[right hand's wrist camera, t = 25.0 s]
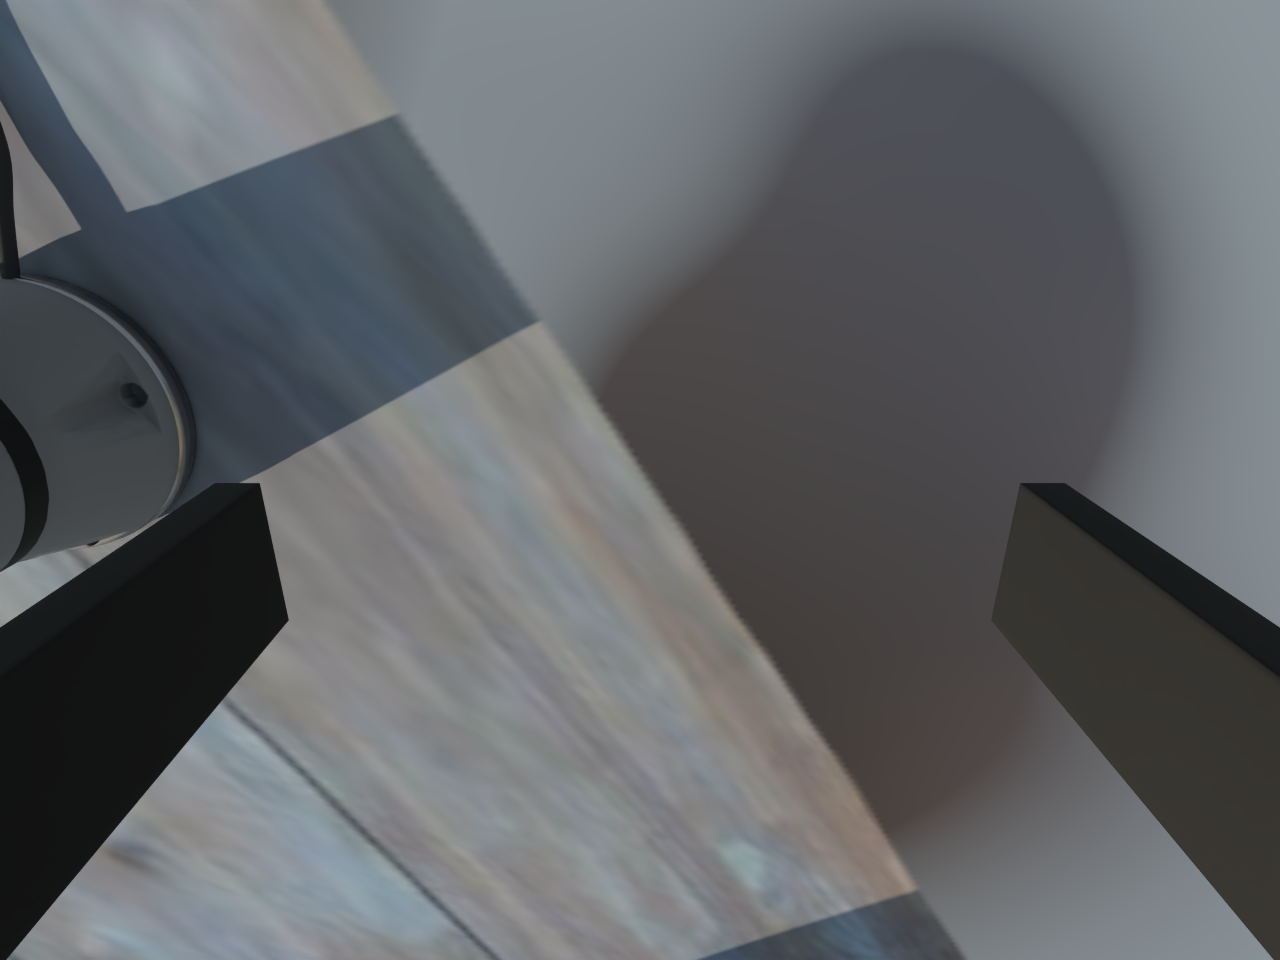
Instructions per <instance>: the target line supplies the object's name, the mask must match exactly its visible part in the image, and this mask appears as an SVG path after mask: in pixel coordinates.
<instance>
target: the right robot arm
mask: <svg viewBox="0 0 1280 960" xmlns="http://www.w3.org/2000/svg"><path fill="white" fill-rule="evenodd" d="M0 273H1V274H0V572H1V571H3V570H4V569H6V568H8V567H10V566H12V565H13V564H15V563H17V562H20V561H25V560H29V559H32V558H36V557H39V556H43V555H48V554H52V553H56V552H60V551H64V550H75V549H83V548H88V547H94V546H99V545H102V544H106V543H109V542H112V541H114V540H117V539H120V538H123V537H125V536H127V535H130V534H132V533H134V532H135V531H137V530H139V529H141V528H142V527H144V526H145V525H147V524H148V523H150V522H151V521H153V520H154V519H156V518H157V517H159V516H160V515H161V514H162V513H164V512H165V511H166V510H167V509H168V508H169V507H170V506H171V505H172V504H173V503H174V502H175V501H176V500H177V498H178V497H179V496H180V494H181V493H182V491H183V489H184V488H185V486H186V484H187V481H188V479H189V477H190V474H191V470H192V467H193V462H194V457H195V445H196V440H195V427H194V420H193V415H192V412H191V408H190V404H189V401H188V399H187V396H186V393H185V391H184V388H183V386H182V384H181V382H180V380H179V378H178V376H177V374H176V373H175V371H174V369H173V367H172V366H171V364H170V363H169V361H168V360H167V358H166V357H165V355H164V354H163V353H162V352H161V350H160V349H159V348H158V347H157V345H156V344H155V343H154V342H153V341H152V340H151V339H150V337H149V336H148V335H147V334H146V333H145V332H144V331H143V330H142V329H141V328H140V327H139V326H137V325H136V324H135V323H134V322H133V321H132V320H131V319H129V318H128V317H127V316H126V315H124V314H123V313H122V312H121V311H119V310H118V309H116V308H115V307H113V306H112V305H110V304H109V303H107V302H106V301H104V300H102V299H100V298H99V297H97V296H95V295H93V294H92V293H89V292H87V291H85V290H83V289H81V288H79V287H76V286H73V285H71V284H68V283H65V282H62V281H59V280H55V279H51V278H48V277H42V276H37V275H29V274H20V268H19V259H18V249H17V240H16V230H15V220H14V208H13V173H12V163H11V157H10V152H9V148H8V144H7V141H6V137H5V134H4V131H3V128H2V125H1V122H0ZM288 620H289V619H288V615H287V610H286V605H285V600H284V596H283V591H282V586H281V582H280V577H279V572H278V567H277V563H276V558H275V553H274V549H273V544H272V539H271V534H270V530H269V525H268V520H267V516H266V511H265V506H264V501H263V497H262V492H261V487H260V483H215V484H213V485H212V486H210V487H209V488H207V489H206V490H204V491H203V492H201V493H200V494H198V495H197V496H195V497H194V498H192V499H191V500H189V501H188V502H187V503H185V504H184V505H182V506H181V507H179V508H178V509H176V510H175V511H173V512H172V513H170V514H169V515H167V516H166V517H164V518H163V519H161V520H160V521H158V522H157V523H155V524H154V525H152V526H151V527H149V528H148V529H146V530H145V531H143V532H142V533H140V534H139V535H137V536H136V537H134V538H133V539H131V540H130V541H128V542H127V543H125V544H124V545H122V546H121V547H120V548H118V549H117V550H115V551H114V552H112V553H111V554H109V555H108V556H106V557H105V558H103V559H102V560H100V561H99V562H97V563H96V564H94V565H93V566H91V567H90V568H88V569H87V570H85V571H84V572H82V573H81V574H79V575H78V576H76V577H75V578H73V579H72V580H70V581H69V582H67V583H66V584H64V585H63V586H61V587H60V588H58V589H57V590H55V591H54V592H52V593H51V594H50V595H48V596H47V597H45V598H44V599H42V600H41V601H39V602H38V603H36V604H35V605H33V606H32V607H30V608H29V609H27V610H26V611H24V612H23V613H21V614H20V615H18V616H17V617H15V618H14V619H12V620H11V621H9V622H8V623H6V624H5V625H3V626H2V627H0V960H6V959H7V958H8V957H9V956H10V954H11V953H12V952H13V951H14V950H15V948H16V947H17V946H18V945H19V944H20V942H21V941H22V940H23V939H24V938H25V936H26V935H27V934H28V933H29V932H30V930H31V929H32V928H33V927H34V926H35V924H36V923H37V922H38V921H39V920H40V918H41V917H42V916H43V915H44V914H45V912H46V911H47V910H48V909H49V908H50V906H51V905H52V904H53V903H54V902H55V900H56V899H57V898H58V897H59V896H60V894H61V893H62V892H63V891H64V890H65V888H66V887H67V886H68V885H69V884H70V882H71V881H72V880H73V879H74V878H75V876H76V875H77V874H78V873H79V872H80V870H81V869H82V868H83V867H84V866H85V864H86V863H87V862H88V861H89V860H90V858H91V857H92V856H93V855H94V854H95V852H96V851H97V850H98V849H99V848H100V846H101V845H102V844H103V843H104V842H105V840H106V839H107V838H108V837H109V836H110V834H111V833H112V832H113V831H114V830H115V828H116V827H117V826H118V825H119V824H120V822H121V821H122V820H123V819H124V817H125V816H126V815H127V814H128V813H129V811H130V810H131V809H132V808H133V807H134V805H135V804H136V803H137V802H138V801H139V799H140V798H141V797H142V796H143V795H144V793H145V792H146V791H147V790H148V789H149V787H150V786H151V785H152V784H153V783H154V781H155V780H156V779H157V778H158V777H159V775H160V774H161V773H162V772H163V771H164V769H165V768H166V767H167V766H168V765H169V763H170V762H171V761H172V760H173V759H174V757H175V756H176V755H177V754H178V753H179V751H180V750H181V749H182V748H183V747H184V745H185V744H186V743H187V742H188V741H189V739H190V738H191V737H192V736H193V735H194V733H195V732H196V731H197V730H198V729H199V727H200V726H201V725H202V724H203V723H204V721H205V720H206V719H207V718H208V717H209V715H210V714H211V713H212V712H213V711H214V709H215V708H216V707H217V706H218V705H219V703H220V702H221V701H222V700H223V699H224V697H225V696H226V695H227V694H228V693H229V691H230V690H231V689H232V688H233V687H234V685H235V684H236V683H237V682H238V680H239V679H240V678H241V677H242V676H243V674H244V673H245V672H246V671H247V670H248V668H249V667H250V666H251V665H252V664H253V662H254V661H255V660H256V659H257V658H258V656H259V655H260V654H261V653H262V652H263V650H264V649H265V648H266V647H267V646H268V644H269V643H270V642H271V641H272V640H273V638H274V637H275V636H276V635H277V634H278V632H279V631H280V630H281V629H282V628H283V626H284V625H285V624H286V623H287V622H288ZM991 620H992V622H993V623H994V624H995V625H996V626H997V628H998V629H999V630H1000V631H1001V632H1002V633H1003V635H1004V636H1005V637H1006V638H1007V640H1008V641H1009V642H1010V643H1011V644H1012V646H1013V647H1014V648H1015V649H1016V650H1017V652H1018V653H1019V654H1020V655H1021V656H1022V658H1023V659H1024V660H1025V661H1026V662H1027V664H1028V665H1029V666H1030V667H1031V668H1032V670H1033V671H1034V672H1035V673H1036V674H1037V676H1038V677H1039V678H1040V679H1041V680H1042V682H1043V683H1044V684H1045V685H1046V687H1047V688H1048V689H1049V690H1050V691H1051V692H1052V694H1053V695H1054V696H1055V697H1056V698H1057V700H1058V701H1059V702H1060V703H1061V705H1062V706H1063V707H1064V708H1065V709H1066V710H1067V712H1068V713H1069V714H1070V715H1071V717H1072V718H1073V719H1074V720H1075V721H1076V723H1077V724H1078V725H1079V726H1080V727H1081V729H1082V730H1083V731H1084V732H1085V733H1086V735H1087V736H1088V737H1089V738H1090V739H1091V741H1092V742H1093V743H1094V744H1095V745H1096V747H1097V748H1098V749H1099V750H1100V751H1101V753H1102V754H1103V755H1104V756H1105V757H1106V759H1107V760H1108V761H1109V762H1110V763H1111V765H1112V766H1113V767H1114V768H1115V769H1116V771H1117V772H1118V773H1119V774H1120V775H1121V777H1122V778H1123V779H1124V780H1125V781H1126V783H1127V784H1128V785H1129V786H1130V787H1131V789H1132V790H1133V791H1134V792H1135V793H1136V795H1137V796H1138V797H1139V798H1140V799H1141V801H1142V802H1143V803H1144V804H1145V805H1146V807H1147V808H1148V809H1149V810H1150V811H1151V813H1152V814H1153V815H1154V816H1155V817H1156V819H1157V820H1158V821H1159V822H1160V824H1161V825H1162V826H1163V827H1164V828H1165V829H1166V831H1167V832H1168V833H1169V834H1170V836H1171V837H1172V838H1173V839H1174V840H1175V841H1176V843H1177V844H1178V845H1179V846H1180V848H1181V849H1182V850H1183V851H1184V852H1185V854H1186V855H1187V856H1188V857H1189V858H1190V860H1191V861H1192V862H1193V863H1194V864H1195V866H1196V867H1197V868H1198V869H1199V870H1200V872H1201V873H1202V874H1203V875H1204V876H1205V878H1206V879H1207V880H1208V881H1209V882H1210V884H1211V885H1212V886H1213V887H1214V888H1215V890H1216V891H1217V892H1218V893H1219V894H1220V896H1221V897H1222V898H1223V899H1224V900H1225V902H1226V903H1227V904H1228V905H1229V906H1230V908H1231V909H1232V910H1233V911H1234V912H1235V914H1236V915H1237V916H1238V917H1239V918H1240V920H1241V921H1242V922H1243V923H1244V924H1245V926H1246V927H1247V928H1248V929H1249V930H1250V932H1251V933H1252V934H1253V935H1254V936H1255V938H1256V939H1257V940H1258V941H1259V942H1260V944H1261V945H1262V946H1263V947H1264V948H1265V950H1266V951H1267V952H1268V953H1269V954H1270V956H1271V957H1272V958H1273V959H1274V960H1280V627H1278V626H1277V625H1275V624H1274V623H1272V622H1271V621H1269V620H1268V619H1266V618H1265V617H1263V616H1262V615H1260V614H1259V613H1257V612H1256V611H1254V610H1253V609H1251V608H1250V607H1248V606H1247V605H1245V604H1244V603H1242V602H1241V601H1239V600H1238V599H1236V598H1235V597H1233V596H1232V595H1230V594H1229V593H1228V592H1226V591H1224V590H1223V589H1221V588H1220V587H1219V586H1217V585H1216V584H1214V583H1213V582H1211V581H1210V580H1208V579H1207V578H1205V577H1204V576H1202V575H1201V574H1199V573H1198V572H1196V571H1195V570H1193V569H1192V568H1190V567H1189V566H1187V565H1186V564H1184V563H1183V562H1181V561H1180V560H1178V559H1177V558H1175V557H1174V556H1172V555H1171V554H1169V553H1168V552H1166V551H1165V550H1163V549H1162V548H1160V547H1159V546H1158V545H1156V544H1155V543H1153V542H1152V541H1150V540H1149V539H1147V538H1146V537H1144V536H1143V535H1141V534H1140V533H1138V532H1137V531H1135V530H1134V529H1132V528H1131V527H1129V526H1128V525H1126V524H1125V523H1123V522H1122V521H1120V520H1119V519H1117V518H1116V517H1114V516H1113V515H1111V514H1110V513H1108V512H1107V511H1105V510H1104V509H1102V508H1101V507H1099V506H1098V505H1096V504H1095V503H1093V502H1092V501H1091V500H1089V499H1087V498H1086V497H1085V496H1083V495H1082V494H1080V493H1079V492H1077V491H1076V490H1074V489H1073V488H1071V487H1070V486H1068V485H1067V484H1065V483H1020V487H1019V492H1018V497H1017V501H1016V506H1015V511H1014V516H1013V520H1012V525H1011V530H1010V534H1009V539H1008V544H1007V549H1006V554H1005V558H1004V563H1003V568H1002V572H1001V577H1000V582H999V586H998V591H997V596H996V600H995V605H994V610H993V615H992V619H991Z"/></svg>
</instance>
